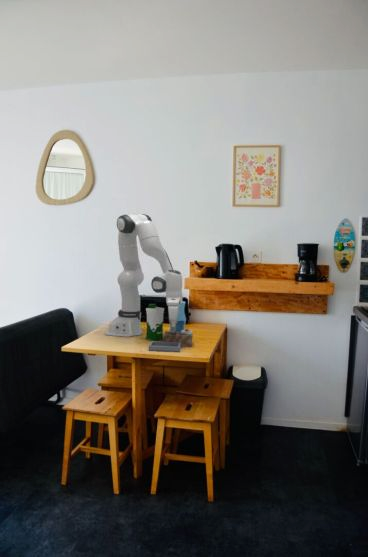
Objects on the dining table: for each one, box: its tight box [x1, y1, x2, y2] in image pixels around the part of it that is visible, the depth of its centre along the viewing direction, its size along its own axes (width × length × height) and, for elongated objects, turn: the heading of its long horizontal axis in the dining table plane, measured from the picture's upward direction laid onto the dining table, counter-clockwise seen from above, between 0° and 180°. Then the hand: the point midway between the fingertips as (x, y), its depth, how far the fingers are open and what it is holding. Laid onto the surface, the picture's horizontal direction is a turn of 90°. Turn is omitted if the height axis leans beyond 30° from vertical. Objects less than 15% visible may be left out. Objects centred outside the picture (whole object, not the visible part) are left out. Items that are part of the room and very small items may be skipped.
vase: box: [168, 300, 187, 332], centre depth 249 cm, size 8×8×20 cm
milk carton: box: [145, 303, 165, 342], centre depth 236 cm, size 9×9×20 cm
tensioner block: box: [162, 328, 194, 348], centre depth 226 cm, size 16×9×9 cm, turn 87°
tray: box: [148, 340, 181, 353], centre depth 216 cm, size 16×10×2 cm, turn 87°
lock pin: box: [169, 320, 177, 334], centre depth 226 cm, size 4×4×12 cm
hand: (174, 324), depth 225 cm, fingers open, 8 cm apart
